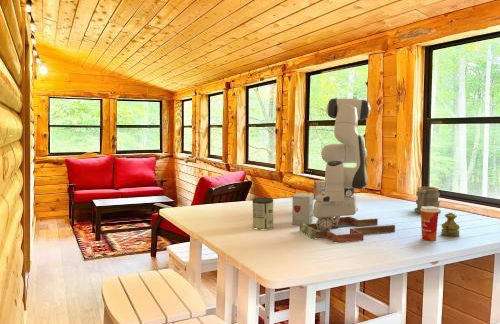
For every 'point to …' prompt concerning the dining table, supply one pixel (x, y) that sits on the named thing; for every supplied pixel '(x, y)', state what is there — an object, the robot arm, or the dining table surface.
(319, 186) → the stack of blocks
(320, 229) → the game die
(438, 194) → the tankard
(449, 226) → the gold metal turned piece
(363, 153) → the robot arm
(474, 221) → the dining table surface
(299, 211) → the supplement box
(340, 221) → the trap channel
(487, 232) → the dining table surface
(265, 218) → the coffee can
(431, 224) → the paper cup
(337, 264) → the dining table surface
